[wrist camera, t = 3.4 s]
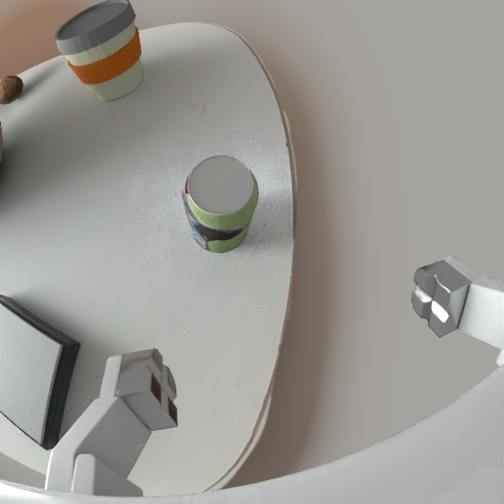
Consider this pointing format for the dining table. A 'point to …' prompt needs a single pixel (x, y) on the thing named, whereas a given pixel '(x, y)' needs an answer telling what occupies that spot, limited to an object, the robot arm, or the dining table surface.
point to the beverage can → (220, 202)
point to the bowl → (1, 142)
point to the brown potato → (10, 89)
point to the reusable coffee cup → (103, 48)
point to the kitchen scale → (34, 373)
